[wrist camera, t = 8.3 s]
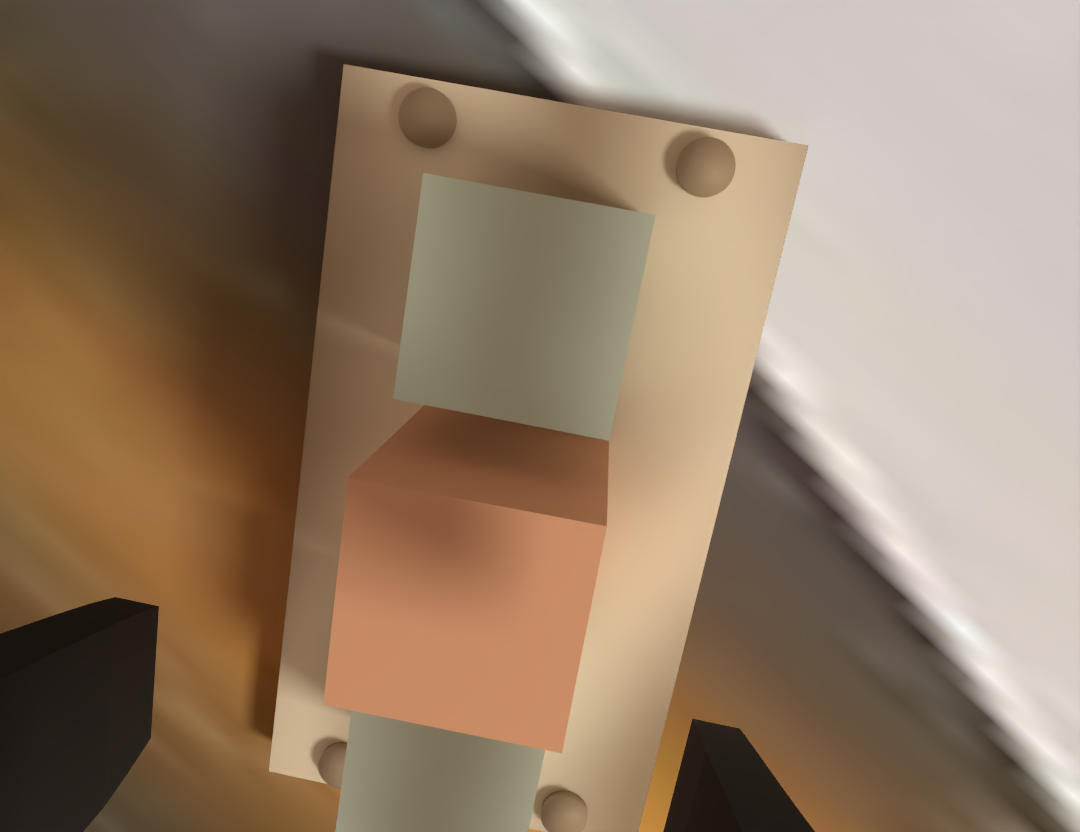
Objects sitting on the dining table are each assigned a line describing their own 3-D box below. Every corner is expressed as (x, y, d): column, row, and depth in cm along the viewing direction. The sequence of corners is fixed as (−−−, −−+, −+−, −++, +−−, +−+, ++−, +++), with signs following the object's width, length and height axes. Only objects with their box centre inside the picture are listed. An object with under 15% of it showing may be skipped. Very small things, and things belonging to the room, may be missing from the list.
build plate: (283, 747, 22) (192, 891, 18) (358, 72, 18) (263, 16, 13) (632, 823, 22) (637, 993, 17) (797, 150, 17) (867, 121, 13)
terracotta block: (402, 574, 20) (323, 704, 14) (424, 404, 19) (347, 477, 13) (576, 608, 19) (561, 753, 14) (609, 438, 18) (606, 526, 13)
